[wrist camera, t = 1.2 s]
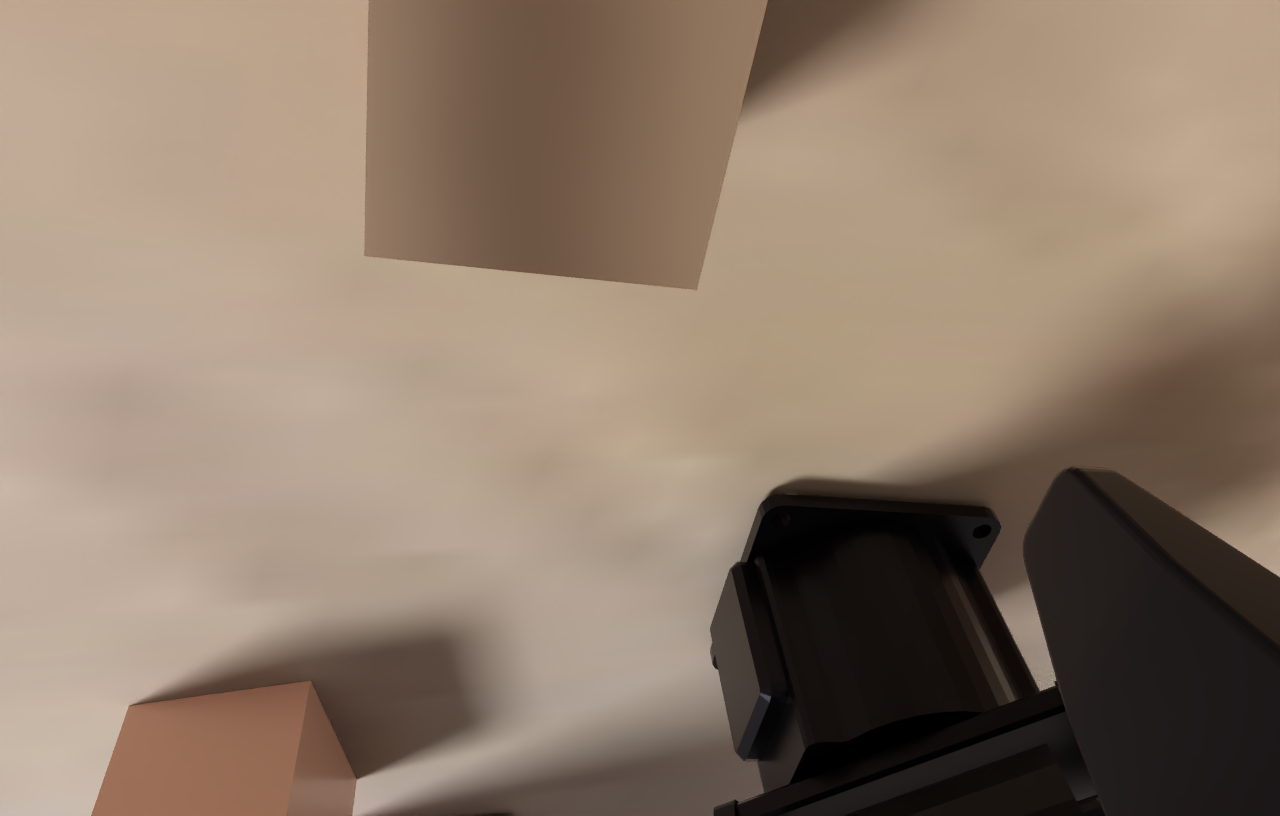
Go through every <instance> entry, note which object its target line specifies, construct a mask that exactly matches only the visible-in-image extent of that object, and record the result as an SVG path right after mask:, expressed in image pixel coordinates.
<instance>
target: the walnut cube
mask: <svg viewBox="0 0 1280 816" xmlns="http://www.w3.org/2000/svg"><path fill="white" fill-rule="evenodd" d="M767 2H768V0H369V13H368V73H367V132H366V192H365V251H364V256H369V257H379V258H389V259H398V260H408V261H418V262H428V263H438V264H448V265H457V266H467V267H477V268H487V269H497V270H507V271H516V272H526V273H536V274H546V275H556V276H566V277H575V278H585V279H595V280H605V281H615V282H624V283H634V284H644V285H654V286H664V287H674V288H683V289H693V290H697V286H698V282H699V278H700V274H701V270H702V266H703V262H704V258H705V254H706V250H707V246H708V241H709V237H710V233H711V229H712V225H713V221H714V217H715V213H716V209H717V205H718V201H719V197H720V193H721V189H722V185H723V181H724V177H725V173H726V168H727V164H728V160H729V156H730V152H731V148H732V144H733V140H734V136H735V132H736V128H737V124H738V120H739V116H740V112H741V108H742V104H743V100H744V95H745V91H746V87H747V83H748V79H749V75H750V71H751V67H752V63H753V59H754V55H755V51H756V47H757V43H758V39H759V35H760V31H761V27H762V23H763V18H764V14H765V10H766V6H767Z"/></svg>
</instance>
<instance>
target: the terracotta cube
mask: <svg viewBox="0 0 1280 816" xmlns="http://www.w3.org/2000/svg"><path fill="white" fill-rule="evenodd" d="M356 781H357V779H356V777H355V775H354V773H353V771H352V768H351V766H350V764H349V762H348V760H347V758H346V756H345V753H344V751H343V749H342V747H341V745H340V743H339V740H338V738H337V736H336V734H335V732H334V730H333V728H332V725H331V723H330V721H329V719H328V717H327V715H326V713H325V710H324V708H323V706H322V704H321V702H320V700H319V698H318V695H317V693H316V691H315V689H314V687H313V685H312V683H311V681H304V682H297V683H290V684H282V685H275V686H268V687H261V688H254V689H246V690H239V691H232V692H225V693H217V694H210V695H203V696H196V697H188V698H181V699H174V700H167V701H160V702H152V703H145V704H138V705H131V706H129V707H128V710H127V713H126V716H125V719H124V722H123V725H122V728H121V731H120V734H119V737H118V739H117V742H116V745H115V748H114V751H113V754H112V757H111V760H110V763H109V766H108V769H107V771H106V774H105V777H104V780H103V783H102V786H101V789H100V792H99V795H98V798H97V800H96V803H95V806H94V809H93V812H92V815H91V816H352V813H353V805H354V797H355V789H356Z"/></svg>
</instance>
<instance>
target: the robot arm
mask: <svg viewBox="0 0 1280 816" xmlns="http://www.w3.org/2000/svg"><path fill="white" fill-rule="evenodd" d="M783 512H784V514H782V515H780V516H774V515H776V514H778V513H783ZM980 525H981V526H980ZM978 526H979V527H978ZM1000 529H1001V525H1000V522H999V520H998V519H997V517H996V515H995V513H994V512H993V511H992V510H991V509H990V508H986V507H977V506H961V505H945V504H929V503H913V502H897V501H881V500H865V499H849V498H833V497H817V496H801V495H785V494H781V495H774V496H771V497H768V498H767V499H765V500H764V501H763V502H762V503H761V504H760V506H759V508H758V511H757V514H756V517H755V519H754V522H753V525H752V528H751V531H750V534H749V537H748V540H747V543H746V546H745V549H744V552H743V555H742V558H741V561H740V562H736V563H735V564H734V565H733V567H732V568H731V569H730V570H729V573H728V576H727V579H726V582H725V585H724V588H723V591H722V594H721V597H720V600H719V603H718V606H717V609H716V612H715V615H714V618H713V621H712V624H711V627H710V632H711V637H712V642H713V643H712V646H711V649H710V654H711V659H712V664H713V666H714V667H715V668H716V669H717V670H718V671H719V676H720V681H721V686H722V690H723V695H724V700H725V705H726V710H727V715H728V720H729V724H730V729H731V734H732V739H733V744H734V749H735V752H736V753H737V754H738V755H739V756H740V758H741V759H742V760H743V761H757V763H758V767H759V772H760V776H761V780H762V785H763V789H764V793H763V794H761V795H758V796H755V797H753V798H750V799H747V800H744V801H742V802H738V801H737V800H736V799H735V800H733V801H730V802H727V803H725V804H722V805H719V806H716V807H714V816H1280V577H1279V576H1277V575H1276V574H1274V573H1272V572H1271V571H1269V570H1268V569H1266V568H1265V567H1263V566H1262V565H1260V564H1259V563H1257V562H1255V561H1254V560H1252V559H1251V558H1249V557H1248V556H1246V555H1245V554H1243V553H1242V552H1240V551H1238V550H1237V549H1235V548H1234V547H1232V546H1231V545H1229V544H1228V543H1226V542H1225V541H1223V540H1221V539H1220V538H1218V537H1217V536H1215V535H1214V534H1212V533H1211V532H1209V531H1208V530H1206V529H1204V528H1203V527H1201V526H1200V525H1198V524H1197V523H1195V522H1194V521H1192V520H1191V519H1189V518H1187V517H1186V516H1184V515H1183V514H1181V513H1180V512H1178V511H1177V510H1175V509H1174V508H1172V507H1170V506H1169V505H1167V504H1166V503H1164V502H1163V501H1161V500H1160V499H1158V498H1157V497H1155V496H1153V495H1152V494H1150V493H1149V492H1147V491H1146V490H1144V489H1143V488H1141V487H1140V486H1138V485H1136V484H1135V483H1133V482H1132V481H1130V480H1129V479H1127V478H1126V477H1124V476H1123V475H1121V474H1120V473H1118V472H1116V471H1114V470H1111V469H1107V468H1097V467H1077V466H1073V467H1068V468H1065V469H1063V470H1062V471H1061V472H1059V473H1058V474H1057V475H1056V477H1055V478H1054V480H1053V481H1052V483H1051V485H1050V487H1049V489H1048V491H1047V493H1046V495H1045V497H1044V498H1043V500H1042V502H1041V504H1040V506H1039V508H1038V510H1037V512H1036V513H1035V515H1034V517H1033V519H1032V521H1031V523H1030V525H1029V527H1028V529H1027V531H1026V533H1025V537H1024V542H1023V557H1024V562H1025V566H1026V570H1027V573H1028V577H1029V581H1030V584H1031V588H1032V592H1033V595H1034V599H1035V603H1036V606H1037V610H1038V614H1039V617H1040V621H1041V625H1042V628H1043V632H1044V636H1045V639H1046V643H1047V647H1048V650H1049V654H1050V658H1051V661H1052V665H1053V669H1054V672H1055V676H1056V680H1057V681H1054V682H1055V685H1056V686H1053V687H1051V688H1048V689H1045V690H1042V691H1040V690H1039V688H1038V686H1037V684H1036V682H1035V680H1034V678H1033V676H1032V674H1031V672H1030V670H1029V668H1028V666H1027V664H1026V662H1025V660H1024V658H1023V656H1022V654H1021V652H1020V650H1019V648H1018V646H1017V644H1016V642H1015V640H1014V638H1013V636H1012V634H1011V632H1010V630H1009V628H1008V626H1007V624H1006V622H1005V620H1004V618H1003V616H1002V614H1001V612H1000V610H999V608H998V606H997V604H996V602H995V600H994V598H993V596H992V594H991V592H990V590H989V588H988V586H987V584H986V582H985V580H984V578H983V577H982V575H981V573H980V571H979V569H980V567H981V565H982V564H983V562H984V560H985V558H986V556H987V554H988V553H989V551H990V549H991V547H992V545H993V543H994V542H995V540H996V538H997V536H998V534H999V532H1000Z"/></svg>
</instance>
